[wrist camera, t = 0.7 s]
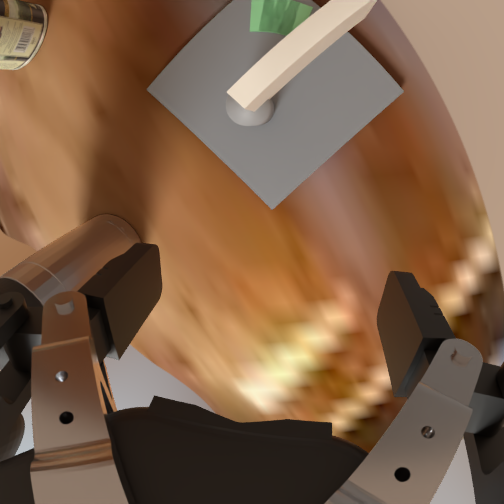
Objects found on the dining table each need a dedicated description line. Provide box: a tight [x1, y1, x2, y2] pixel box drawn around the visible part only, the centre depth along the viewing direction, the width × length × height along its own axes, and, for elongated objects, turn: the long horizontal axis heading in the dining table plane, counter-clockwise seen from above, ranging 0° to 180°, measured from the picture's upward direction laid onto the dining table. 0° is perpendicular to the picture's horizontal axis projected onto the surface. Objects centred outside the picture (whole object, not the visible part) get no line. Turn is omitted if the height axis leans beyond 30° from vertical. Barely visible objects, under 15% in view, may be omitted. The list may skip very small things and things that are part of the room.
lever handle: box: [226, 0, 377, 126], centre depth 21 cm, size 14×3×12 cm, turn 135°
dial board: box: [147, 0, 404, 209], centre depth 28 cm, size 18×18×2 cm
